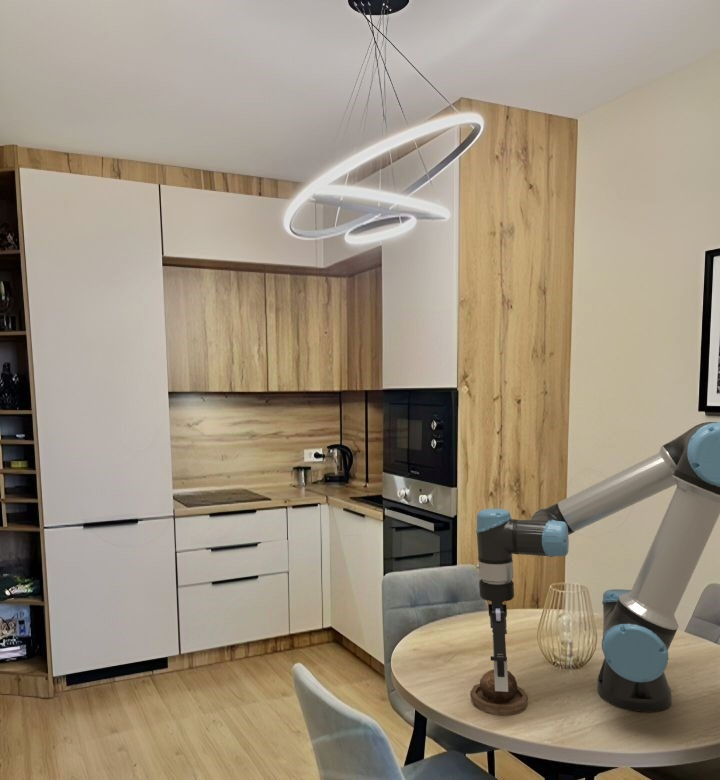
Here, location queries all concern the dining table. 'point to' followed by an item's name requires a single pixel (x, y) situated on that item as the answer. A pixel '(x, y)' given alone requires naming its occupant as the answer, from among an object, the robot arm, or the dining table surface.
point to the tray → (501, 709)
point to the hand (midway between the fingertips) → (500, 676)
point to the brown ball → (497, 696)
